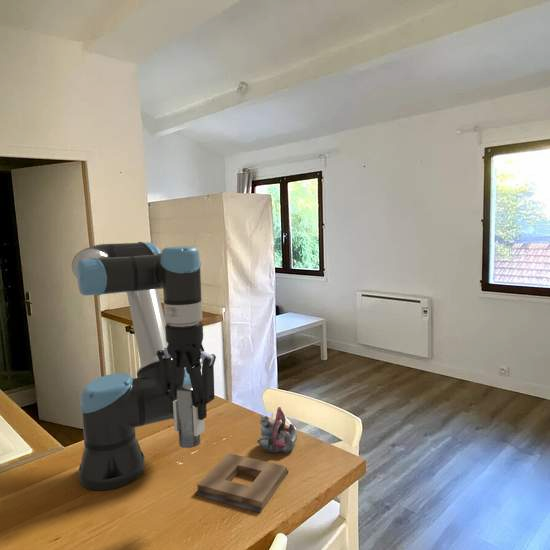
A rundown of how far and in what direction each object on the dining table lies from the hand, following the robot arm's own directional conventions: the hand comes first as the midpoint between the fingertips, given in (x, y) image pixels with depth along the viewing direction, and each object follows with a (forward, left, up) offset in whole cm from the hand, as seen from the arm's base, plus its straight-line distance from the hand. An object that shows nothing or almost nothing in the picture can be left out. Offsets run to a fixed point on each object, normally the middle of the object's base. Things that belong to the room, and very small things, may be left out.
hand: (189, 430), depth 91 cm
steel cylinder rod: (0, 0, -3) cm, 3 cm away
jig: (+7, +11, -17) cm, 21 cm away
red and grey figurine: (+7, +29, -17) cm, 35 cm away
